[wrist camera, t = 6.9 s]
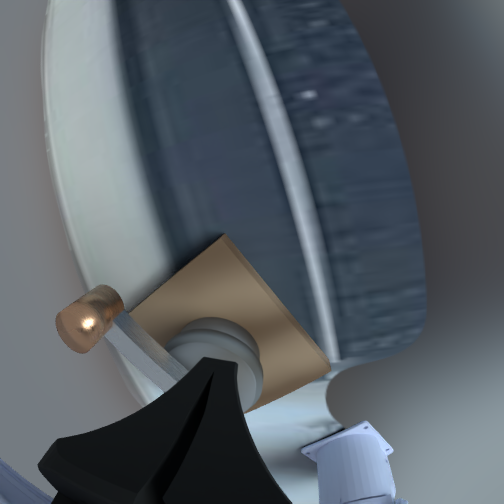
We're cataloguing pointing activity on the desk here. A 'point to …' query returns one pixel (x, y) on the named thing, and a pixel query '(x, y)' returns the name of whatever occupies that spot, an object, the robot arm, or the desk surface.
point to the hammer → (116, 335)
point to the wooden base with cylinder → (232, 325)
